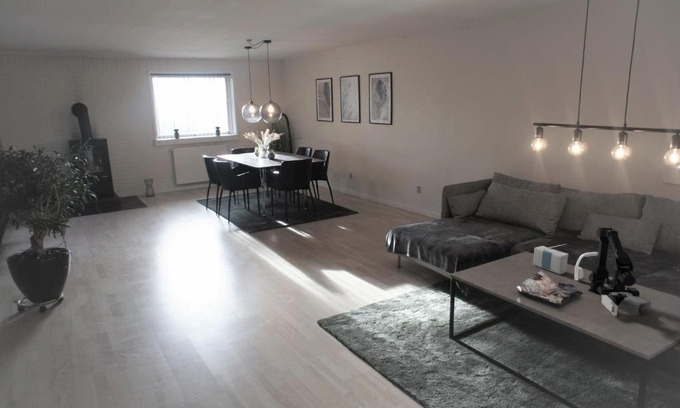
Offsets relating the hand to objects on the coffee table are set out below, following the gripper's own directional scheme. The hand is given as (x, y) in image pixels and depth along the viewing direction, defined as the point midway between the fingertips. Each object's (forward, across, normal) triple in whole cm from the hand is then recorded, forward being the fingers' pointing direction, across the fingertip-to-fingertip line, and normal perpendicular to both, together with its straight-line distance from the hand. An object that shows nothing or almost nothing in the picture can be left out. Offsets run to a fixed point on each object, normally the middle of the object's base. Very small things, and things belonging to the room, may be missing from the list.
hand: (616, 306), depth 245 cm
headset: (+3, -2, -45) cm, 46 cm away
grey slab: (+3, -7, -7) cm, 11 cm away
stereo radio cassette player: (+3, +16, -61) cm, 63 cm away
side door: (+3, +3, -2) cm, 5 cm away
